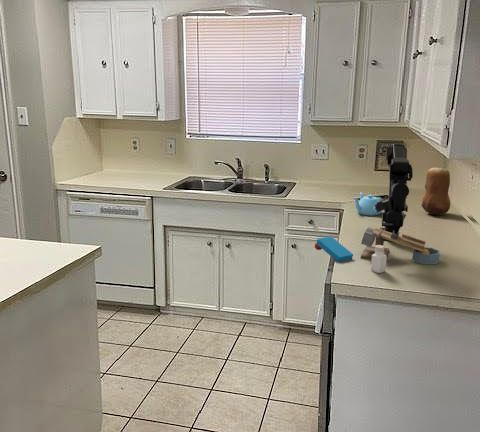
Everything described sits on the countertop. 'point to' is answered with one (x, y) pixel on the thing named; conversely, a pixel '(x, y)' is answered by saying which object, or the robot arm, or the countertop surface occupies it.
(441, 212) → the butternut squash
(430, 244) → the countertop surface
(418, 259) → the blue bowl
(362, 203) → the teapot
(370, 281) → the countertop surface
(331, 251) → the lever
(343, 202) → the countertop surface
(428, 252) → the ball
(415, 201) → the countertop surface
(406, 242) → the tipping lever
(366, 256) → the lever stand
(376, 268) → the pepper shaker
